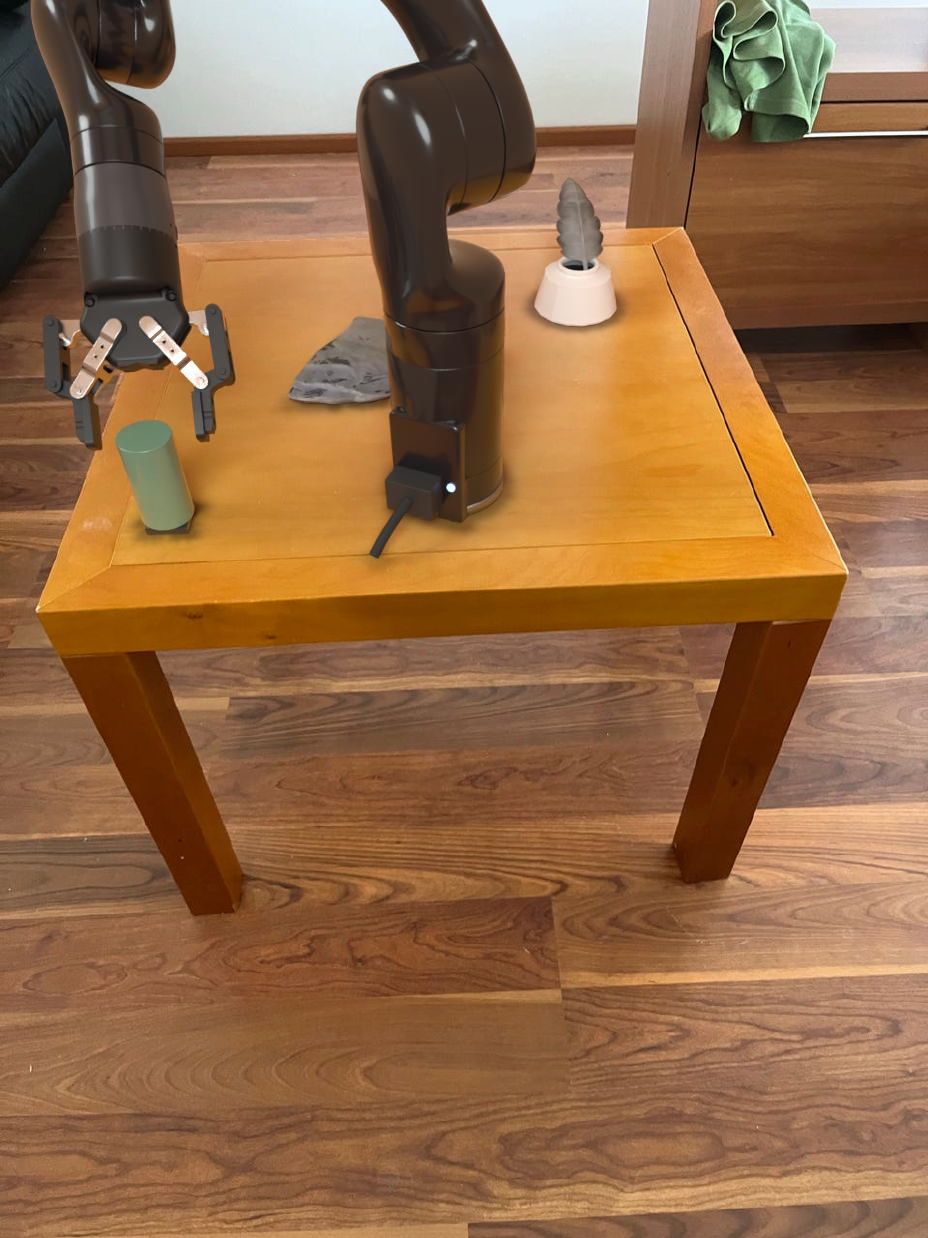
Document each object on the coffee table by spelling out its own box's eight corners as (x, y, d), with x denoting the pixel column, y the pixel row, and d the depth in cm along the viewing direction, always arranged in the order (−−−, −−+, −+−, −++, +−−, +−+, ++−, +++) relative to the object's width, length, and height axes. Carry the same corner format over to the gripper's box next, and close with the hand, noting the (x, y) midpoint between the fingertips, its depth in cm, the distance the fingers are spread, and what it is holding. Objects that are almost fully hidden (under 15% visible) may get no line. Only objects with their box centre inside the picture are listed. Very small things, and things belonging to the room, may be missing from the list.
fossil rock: (499, 350, 98) (499, 329, 96) (462, 432, 88) (462, 411, 86) (341, 329, 101) (339, 309, 99) (288, 406, 91) (285, 385, 90)
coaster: (188, 533, 78) (186, 528, 78) (146, 534, 78) (144, 529, 78) (195, 507, 81) (194, 501, 80) (155, 507, 81) (153, 502, 80)
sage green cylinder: (203, 516, 79) (181, 438, 73) (154, 537, 77) (128, 459, 71) (181, 490, 81) (158, 412, 76) (133, 510, 80) (106, 432, 74)
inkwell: (540, 329, 100) (544, 238, 93) (517, 254, 113) (520, 168, 106) (625, 324, 101) (635, 233, 94) (593, 249, 113) (600, 163, 106)
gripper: (16, 227, 70) (39, 444, 70) (209, 214, 71) (231, 428, 71) (53, 263, 77) (74, 459, 78) (227, 251, 78) (247, 445, 79)
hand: (149, 444), depth 74 cm, fingers open, 8 cm apart
